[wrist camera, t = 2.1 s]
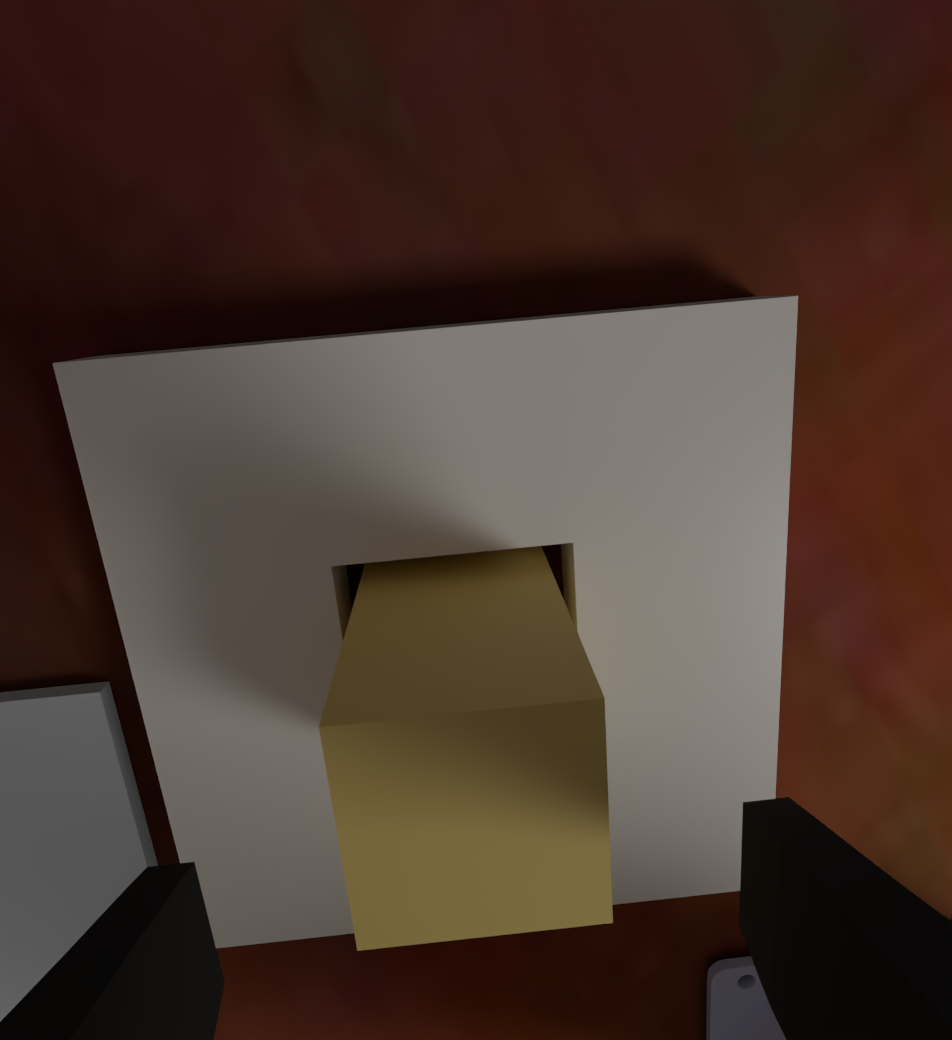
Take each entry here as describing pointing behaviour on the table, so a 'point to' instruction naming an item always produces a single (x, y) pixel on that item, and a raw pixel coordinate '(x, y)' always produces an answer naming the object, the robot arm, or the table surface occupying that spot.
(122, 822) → the mat
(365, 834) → the block
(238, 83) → the table surface
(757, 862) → the robot arm
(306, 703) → the pocket holder
